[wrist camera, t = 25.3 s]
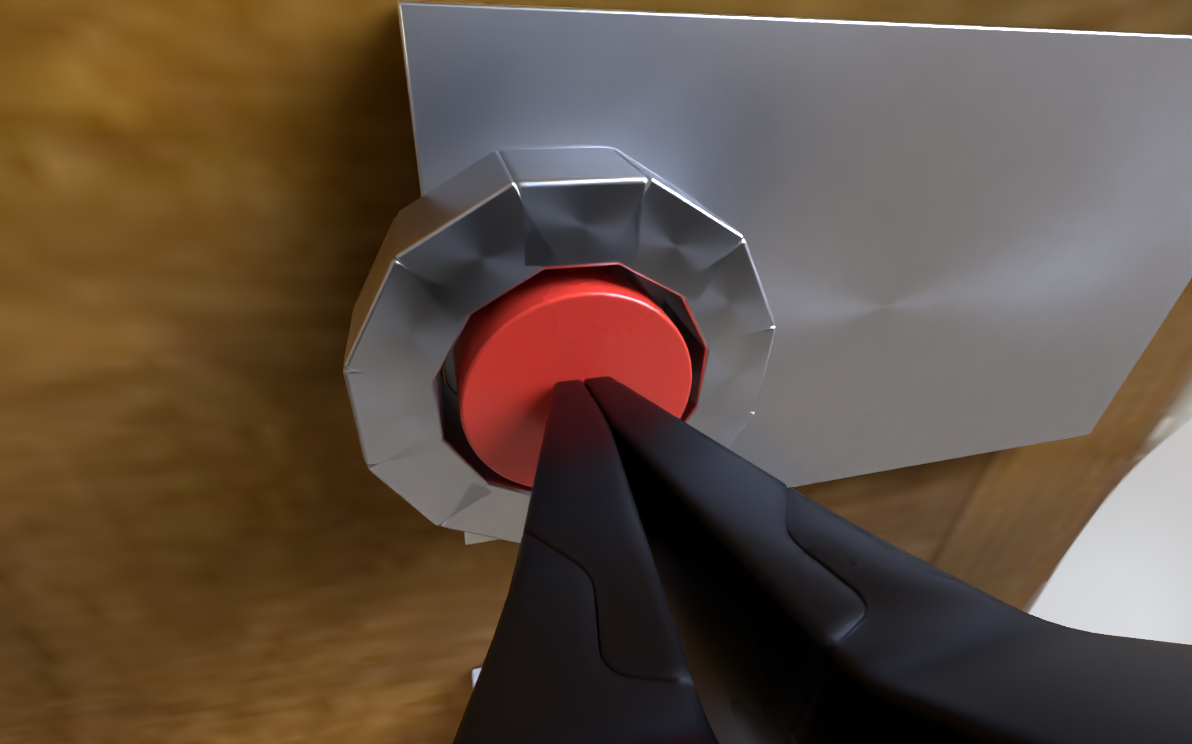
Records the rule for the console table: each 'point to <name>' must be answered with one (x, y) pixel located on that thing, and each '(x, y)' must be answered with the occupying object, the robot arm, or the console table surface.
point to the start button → (560, 357)
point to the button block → (784, 228)
